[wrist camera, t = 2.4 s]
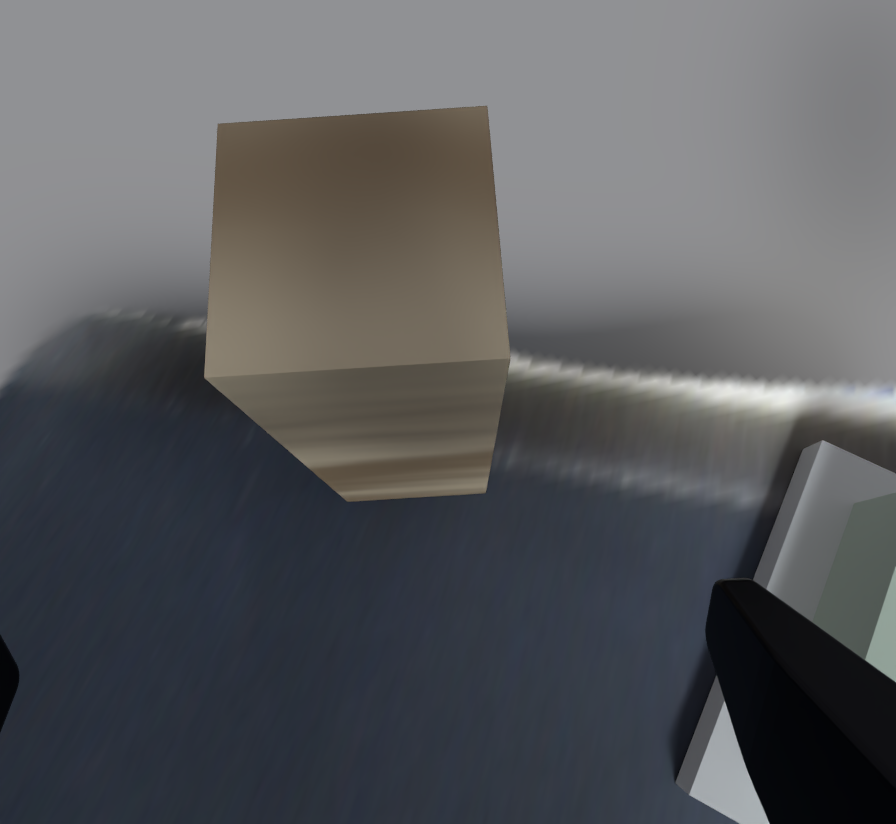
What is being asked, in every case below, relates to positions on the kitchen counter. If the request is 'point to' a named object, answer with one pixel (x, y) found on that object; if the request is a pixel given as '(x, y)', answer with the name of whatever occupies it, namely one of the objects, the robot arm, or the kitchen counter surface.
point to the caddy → (812, 599)
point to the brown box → (363, 296)
